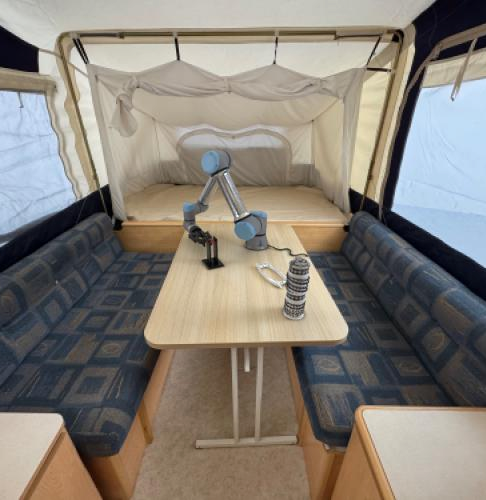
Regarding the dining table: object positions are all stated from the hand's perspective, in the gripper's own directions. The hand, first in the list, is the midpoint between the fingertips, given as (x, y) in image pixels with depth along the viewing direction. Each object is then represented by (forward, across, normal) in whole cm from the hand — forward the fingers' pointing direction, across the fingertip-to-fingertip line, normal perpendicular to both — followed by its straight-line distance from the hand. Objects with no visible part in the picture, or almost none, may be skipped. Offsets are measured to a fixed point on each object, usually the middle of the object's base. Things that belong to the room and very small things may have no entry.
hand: (208, 244), depth 151 cm
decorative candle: (+62, -14, -10) cm, 64 cm away
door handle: (+32, -23, -10) cm, 40 cm away
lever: (0, 0, +1) cm, 1 cm away
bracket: (+6, 0, -10) cm, 11 cm away
